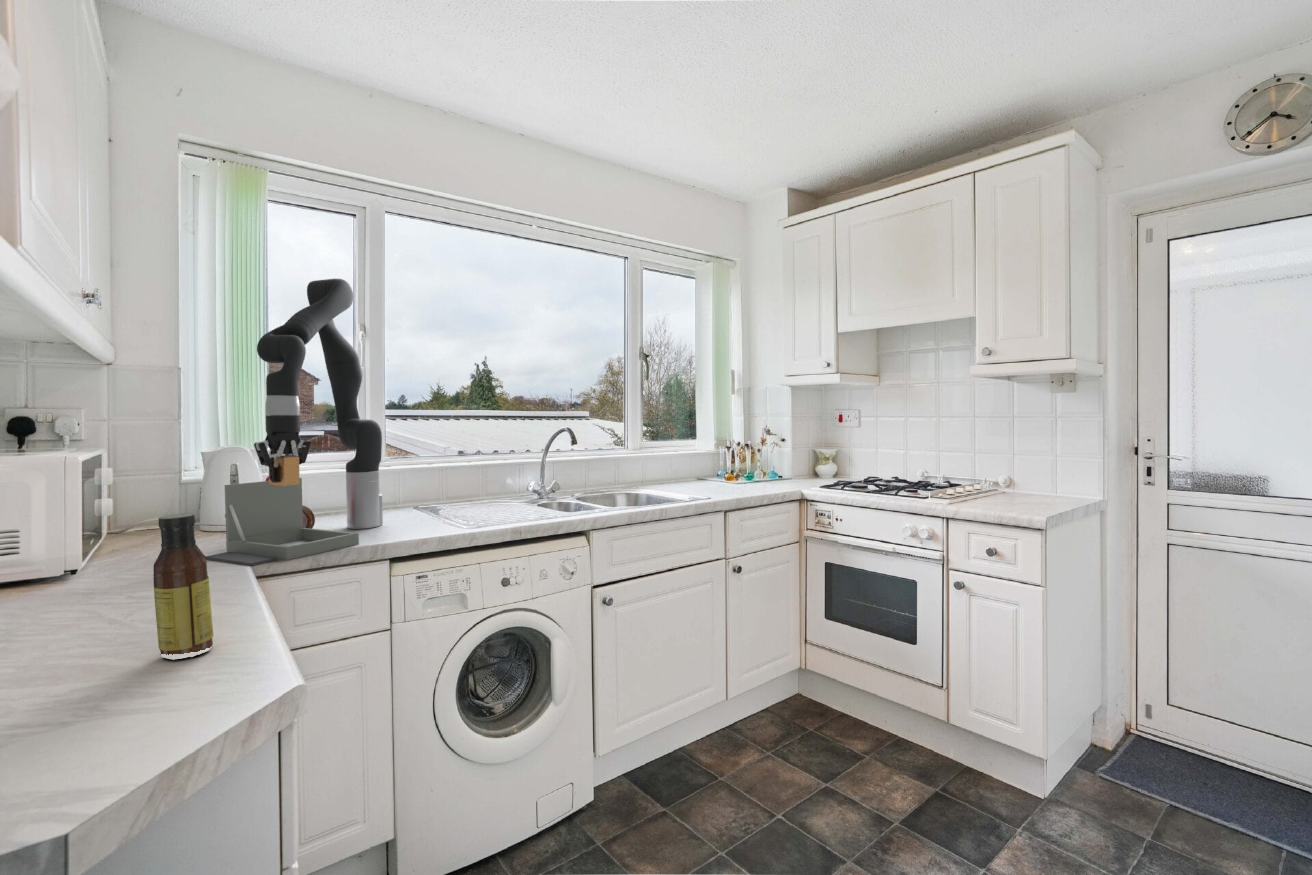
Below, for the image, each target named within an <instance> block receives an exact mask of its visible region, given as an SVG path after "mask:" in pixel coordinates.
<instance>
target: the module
mask: <svg viewBox="0 0 1312 875" xmlns="http://www.w3.org/2000/svg"><path fill="white" fill-rule="evenodd" d="M278 468H279V482H277V483H273V482H271V480H270V479H269V485H281V486H287V485H297V484H300V479H299V478H300V465H299V457H297V455H285V454H282V458H280V459H279V466H278Z"/></svg>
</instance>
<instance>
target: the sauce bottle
mask: <svg viewBox="0 0 1312 875" xmlns="http://www.w3.org/2000/svg"><path fill="white" fill-rule="evenodd" d="M196 521H197V520H196V516H195V514H194V513H187V512H185V513H174V514H167V515H163V516H160V517H158V527H159V529H160V536H161V538H160V539H161V544H160V547H161V550H160V552H159V554H158V556H157V558H156V559H155V562H154V563H153V567H152V568H153V595H154V606H155V607H154V608H155V610H154V611H155V621H156V630H157V632H156V633H157V644H158V645H157V646H158V650H159V651H160V655H161V654H166V655H167V654H168V655H169V654H172V655H173V654H184V653H190V652H198V651H200V650H205V649H206V648H210V647H211V646H212V645H213V644H214V641H213V637H214V628H213V627H214V626H213V614H212V613H213V612H212V601H211V591H210V590H211V589H210V577H209V576H208V575H209V574H208V563H207V559H206V557H205V554H204V553H203V552H202V550H201V549H200V548H199V546H198V545H197V544H196V542H197V540H196V538H195V537H196V534H195V524H196V523H197V522H196ZM212 647H213V646H212Z"/></svg>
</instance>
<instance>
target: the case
mask: <svg viewBox="0 0 1312 875" xmlns="http://www.w3.org/2000/svg"><path fill="white" fill-rule="evenodd" d="M302 478H303V477H299V479H300V484H297V485H287V486H281V485H269V481H265V480H263V481H254V482H242V483H233V484H231V483H230V484H225V485H224V510H225V511H224V512H225V539H226V540H225V542H226V552H237V553H244V554H252V555H259V556H267V557H275V558H277V560H283V561H290V560H294V559H298V558H303V557H308V556H312V555H316V554H321V553H326V552H330V550H331V551H333V550H332V549H335V550H340V549H344V548H347V547H346V546H349V547H354V546H358V545H359V544H360V540H359V536H360V535H359V533H360V532H350V531H340V530H330V529H320V528H312V529H311V528H303V507H302V506H303V479H302ZM301 540H303V541H304V540H305V541H308V542H303V543H296V544H292V545H282V544H285V543H291V542H296V541H301ZM312 540H313V541H312ZM357 544H358V545H357ZM343 547H344V548H343ZM339 548H340V549H339Z"/></svg>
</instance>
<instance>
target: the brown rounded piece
mask: <svg viewBox="0 0 1312 875" xmlns="http://www.w3.org/2000/svg"><path fill="white" fill-rule="evenodd" d="M302 507H303V528H311V529H314V526H315V523H316V517H315V515H314V512H313V511H312V510H311V509H310V508H309V507H308V506H306V505H302Z"/></svg>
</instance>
